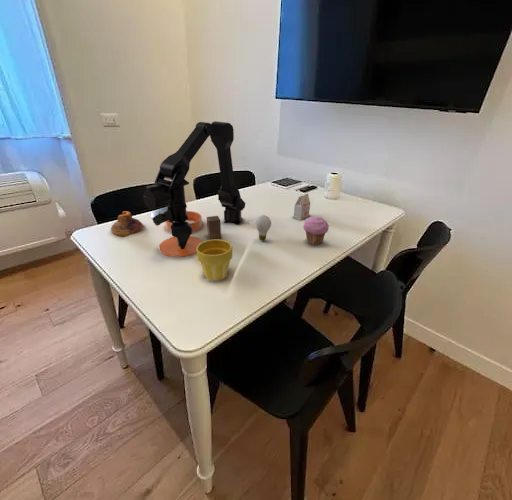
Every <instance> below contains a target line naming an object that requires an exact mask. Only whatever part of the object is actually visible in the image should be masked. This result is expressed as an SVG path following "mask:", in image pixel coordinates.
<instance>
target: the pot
mask: <svg viewBox="0 0 512 500" xmlns="http://www.w3.org/2000/svg"><path fill="white" fill-rule="evenodd" d="M186 212H187V216H188V220H187V221H193V222H188V223H189V224H190V225H191V228H192V233H193V232H196V231H198V230H200V229H201V228H202V227H203V220H202V215H201V213H199V212H196V211H192V210H186ZM164 224H165V226H164V227H165V229H166V230H167V231H169V232H171V225H172V224H173V223H172V222H169V220H168V221H166V222H164Z"/></svg>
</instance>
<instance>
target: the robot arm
mask: <svg viewBox="0 0 512 500" xmlns="http://www.w3.org/2000/svg"><path fill="white" fill-rule="evenodd" d="M234 132H235V130H234V126H233V125H232V123H231V122H225V121H216V120H215V121H212V122H206V121H199V122H197V123H196V124H195V128H194V129H193V130H192V132H191V133H190V134H189V135H188V136H187V138H186V139H185V140H184V141H183V143H182V144H181V146H180V147H179V148H178V150H177V151H176V152H174V153H172V154H170V155H168V156H167V157H166V158H165V159H164V160H162V161H161V163H160V164H159V170H158V172H157V175H156V177H155V180H154V184H152V185H146V187H145V189H146V190H144V192H143V196H142V199H143V203H144V204H145V206H146V207H147V208H148V209H149V210H154V211H152V212H151V213H150V219H151V220H152V221H153V224H154V225H155V226H156V227H159V226H160V225H161V224H163V223H165V222H166V221H168V220H169V222H171V223H173V224H172V225H171V231H170V233H171V236H172V237H177V239H178V241H179V244H180V247H181V249H185V246H186V244H187V241H188V239H189V237H190V236H192V234H193V232H192V228H191V225H190V224H189V223H190V222H188V221H189V220H188V216H187V212H186V211H187V208H188V206H187V203H186V193H185V186H187V185H189V184H190V182H189V180H187V179H185V178H186V177H187V174H188V173H189V171H190V166H191V165H190V164H191V161H192V160H193V159H194V157H195V156H196V155H197V153H198V152H199V151H200V150H201V148H202V146H203V145H204V144H205V142H206V141H207V140H208V138H209V137H210V141H211V143H212V144H213V146H214V147H215V149H216V154H217V160H218V167H219V173H220V182H221V186H220V188H219V190H217V196H218V199H217V200H218V201H219V203H220V205H221V207H222V208H224V210H223V220H224V222H223V223H225V224H232V225H240V224H241V223H242V220H243V217H242V211H244V209H245V208H246V202H245V201H244V200H243V199H242V197H241V191H240V190H239V188H238V187H237V185H236V183H235V176H234V169H233V167H234V166H233V160H232V150H231V146H232V144H233V143H234V138H235V136H234V134H235V133H234ZM164 206H165V207H164ZM156 209H157V210H156Z"/></svg>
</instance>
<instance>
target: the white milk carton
mask: <svg viewBox="0 0 512 500" xmlns="http://www.w3.org/2000/svg"><path fill="white" fill-rule="evenodd" d="M310 210H311V201H310V197H309V193H305V194H303V195H300V196H298V198H297V201H296V202H295V204H294V207H293V219H297V220H299V221H302V220H304V219H307V218H309V216H310Z"/></svg>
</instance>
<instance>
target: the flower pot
mask: <svg viewBox="0 0 512 500" xmlns="http://www.w3.org/2000/svg"><path fill="white" fill-rule="evenodd" d="M196 251H197V253H196V258H197V261H198V262H199V263H200V266H201V268H202V271H203V274H204V276H205V278H206V279H208V280H211V281H219V280H222V279H225V278H226V277H227V275H228V271H229V266H230V261H231V260H232V259H233V245H232V244H231V242H229V241H228V240H224V239H213V240H210V239H207V240H204V241H202V242H201V243H200V244H199V245H198V246H197V248H196Z"/></svg>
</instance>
